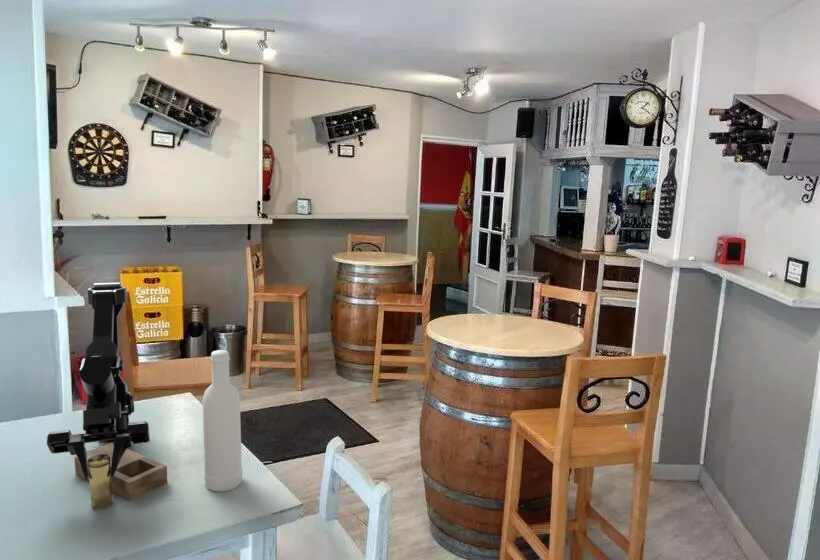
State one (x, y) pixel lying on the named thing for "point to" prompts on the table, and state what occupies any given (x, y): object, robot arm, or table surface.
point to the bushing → (100, 481)
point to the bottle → (222, 428)
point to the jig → (130, 472)
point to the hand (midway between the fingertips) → (99, 477)
